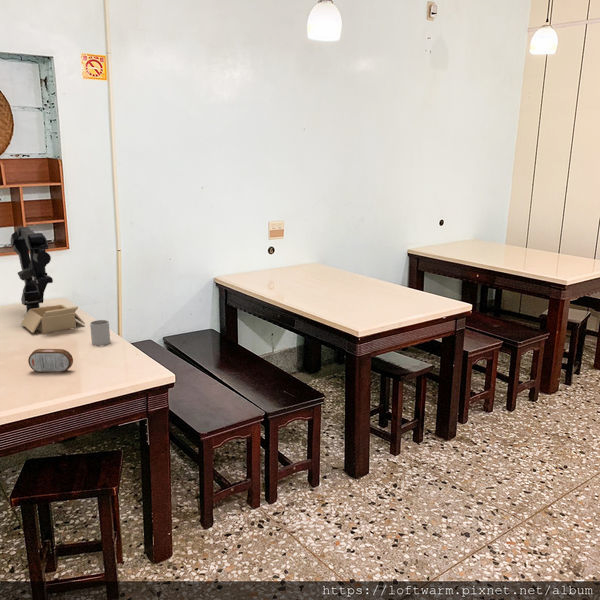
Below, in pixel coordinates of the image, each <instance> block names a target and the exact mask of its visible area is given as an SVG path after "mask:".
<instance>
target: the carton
mask: <svg viewBox="0 0 600 600" xmlns="http://www.w3.org/2000/svg"><path fill="white" fill-rule="evenodd" d="M64 308H68V307H67V306H65V305H64V304H55V305H48V306H42V307H40V308H34V309H30V310H29V311H28V312H27V311H26V316H25V315H24V317H23V319H22V320H21V325H23V327H25V328H26V329H27V330H29V331H30V333H33V334H34V333H35V331H36V330H38V331H39V332H40V333H42V334H43V335H46V334H49V333H50V334H51V333H56V331H57V332H62V331H61V330H63V331H67V329H69V330H72V329H71V328H74V329H77V324H76V320H77V321H78V322H80V323H81V324H84V325H85V324H86V323H85V322H84V320H83V319H82V318H81V317H80V316H79V315H78V314H77V313H76V312H75V313H70V314H64V315H58V316H51V317H45V318H43V317H42V316H43V315H44V313H45V312H46V311H51V310H58V309H64ZM36 328H37V329H36Z"/></svg>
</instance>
